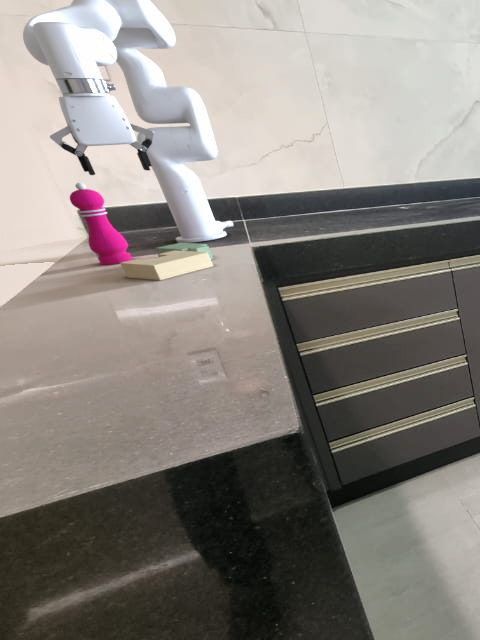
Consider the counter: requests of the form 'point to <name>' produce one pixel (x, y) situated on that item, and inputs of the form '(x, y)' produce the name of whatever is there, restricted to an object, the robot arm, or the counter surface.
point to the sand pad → (167, 265)
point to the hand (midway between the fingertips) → (120, 172)
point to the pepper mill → (100, 227)
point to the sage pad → (185, 248)
